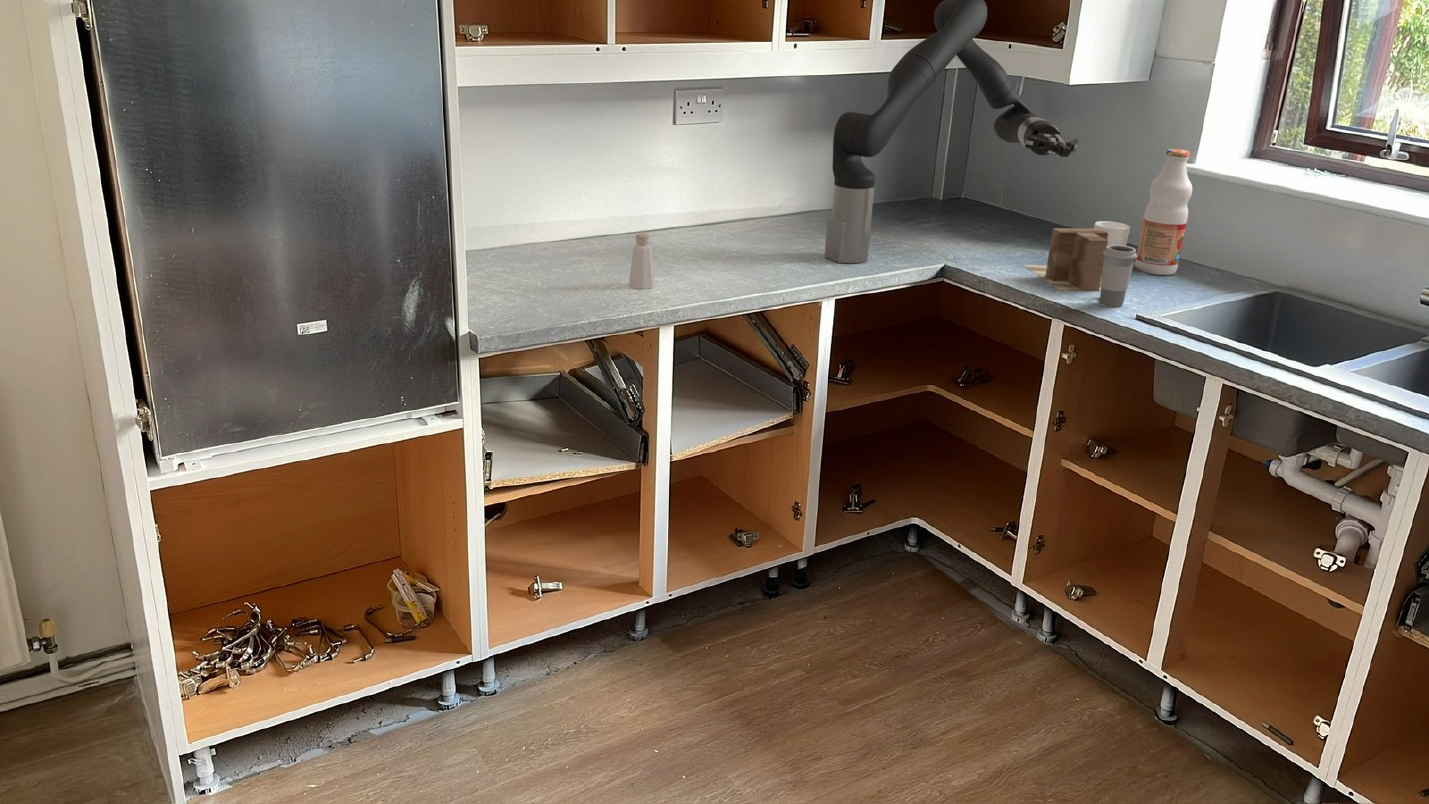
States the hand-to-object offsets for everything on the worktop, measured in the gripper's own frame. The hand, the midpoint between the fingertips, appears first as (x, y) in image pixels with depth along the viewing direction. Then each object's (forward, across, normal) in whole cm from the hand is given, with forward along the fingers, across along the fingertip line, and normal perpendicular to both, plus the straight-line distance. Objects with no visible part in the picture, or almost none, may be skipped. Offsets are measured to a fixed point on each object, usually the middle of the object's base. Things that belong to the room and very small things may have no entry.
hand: (1065, 152), depth 245 cm
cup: (+29, +5, +25) cm, 38 cm away
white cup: (-2, +17, +27) cm, 32 cm away
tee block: (+16, +3, +25) cm, 30 cm away
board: (+11, +2, +26) cm, 29 cm away
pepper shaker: (+20, -94, +30) cm, 100 cm away
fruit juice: (+1, +28, +26) cm, 38 cm away
